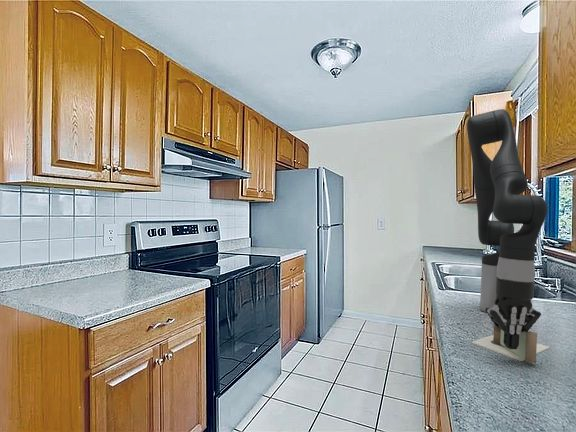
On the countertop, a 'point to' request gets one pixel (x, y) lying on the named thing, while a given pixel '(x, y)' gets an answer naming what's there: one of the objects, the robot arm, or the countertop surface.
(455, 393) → the countertop surface
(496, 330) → the fence fixed
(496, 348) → the card
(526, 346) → the fence gate
